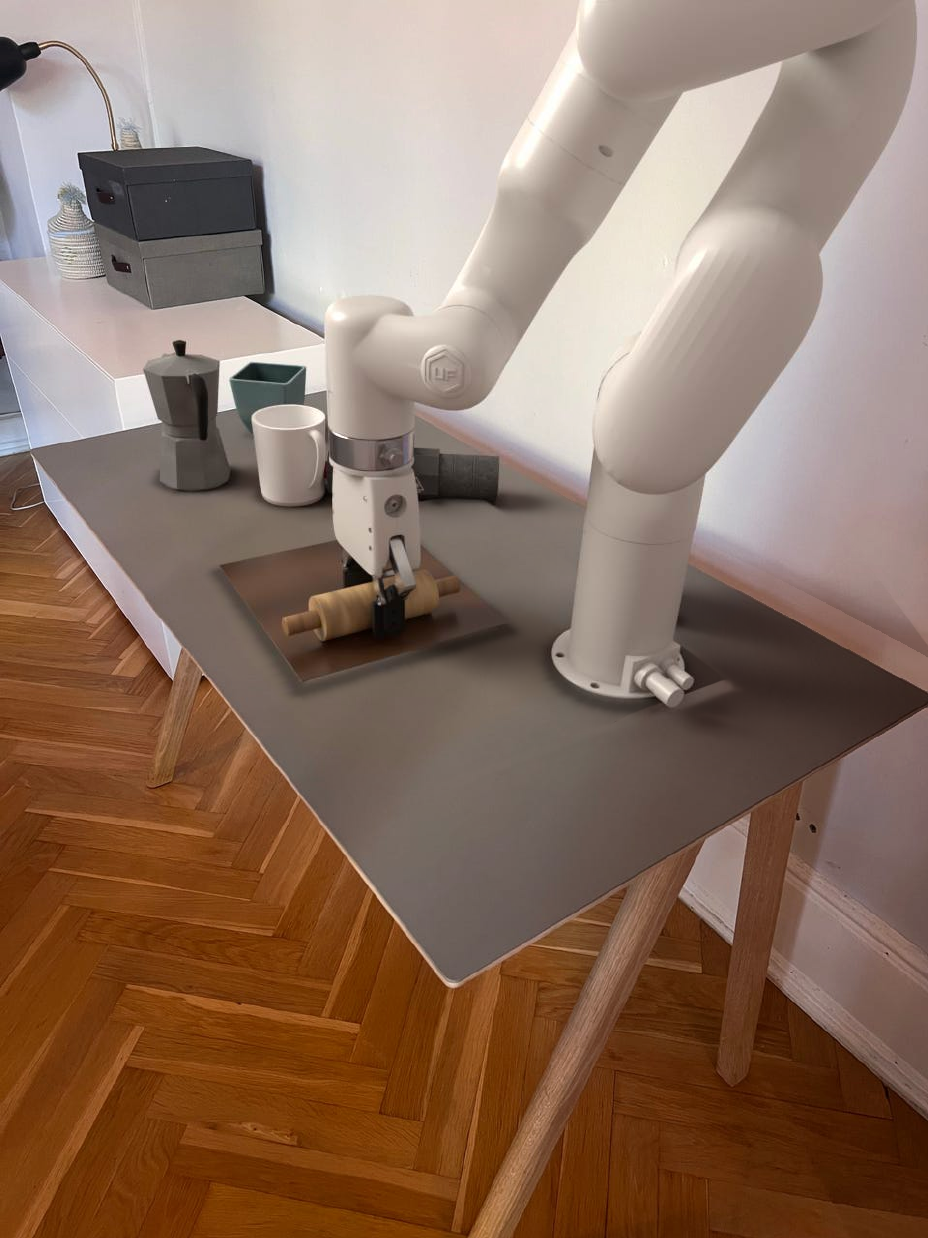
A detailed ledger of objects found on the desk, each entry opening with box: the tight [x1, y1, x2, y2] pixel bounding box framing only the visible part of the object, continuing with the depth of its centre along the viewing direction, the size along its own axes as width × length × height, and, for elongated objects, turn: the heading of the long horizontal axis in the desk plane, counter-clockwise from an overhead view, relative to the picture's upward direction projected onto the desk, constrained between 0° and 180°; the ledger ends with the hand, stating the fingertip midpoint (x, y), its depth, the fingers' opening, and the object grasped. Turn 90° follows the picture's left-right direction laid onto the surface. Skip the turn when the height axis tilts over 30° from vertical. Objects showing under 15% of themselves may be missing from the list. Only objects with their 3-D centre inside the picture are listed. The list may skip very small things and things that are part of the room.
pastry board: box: [218, 539, 508, 683], centre depth 95 cm, size 24×22×1 cm
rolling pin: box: [282, 570, 460, 641], centre depth 89 cm, size 4×18×4 cm, turn 120°
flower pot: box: [228, 361, 307, 436], centre depth 133 cm, size 9×9×9 cm
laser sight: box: [324, 447, 500, 502], centre depth 116 cm, size 10×22×10 cm, turn 89°
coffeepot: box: [142, 339, 231, 492], centre depth 115 cm, size 15×9×18 cm, turn 29°
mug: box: [252, 404, 327, 508], centre depth 114 cm, size 11×9×10 cm
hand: (373, 616), depth 90 cm, fingers open, 5 cm apart
